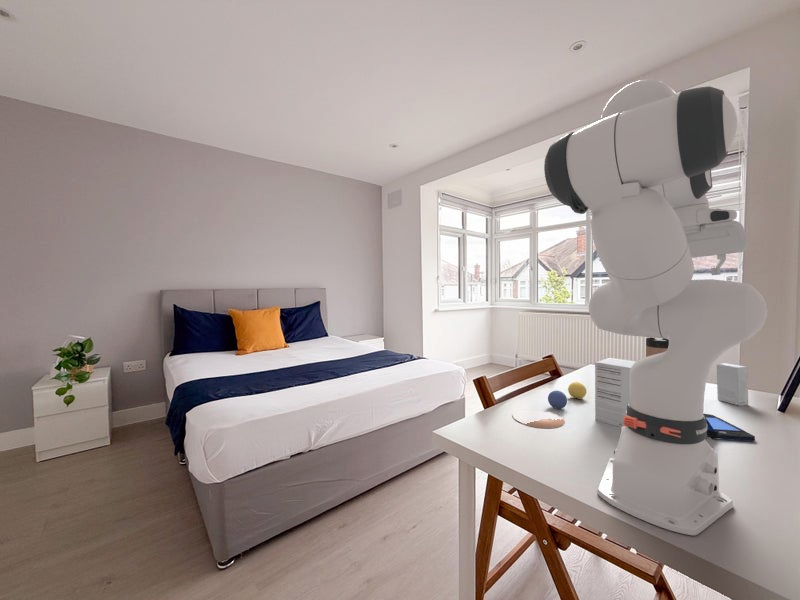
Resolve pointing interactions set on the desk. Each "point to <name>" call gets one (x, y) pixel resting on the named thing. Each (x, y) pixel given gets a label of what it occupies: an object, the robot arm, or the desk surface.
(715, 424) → the handheld game console
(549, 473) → the desk surface
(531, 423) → the mark
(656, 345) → the travel mug
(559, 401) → the ball
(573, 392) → the ball
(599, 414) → the supplement box
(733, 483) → the desk surface
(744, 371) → the skincare box
